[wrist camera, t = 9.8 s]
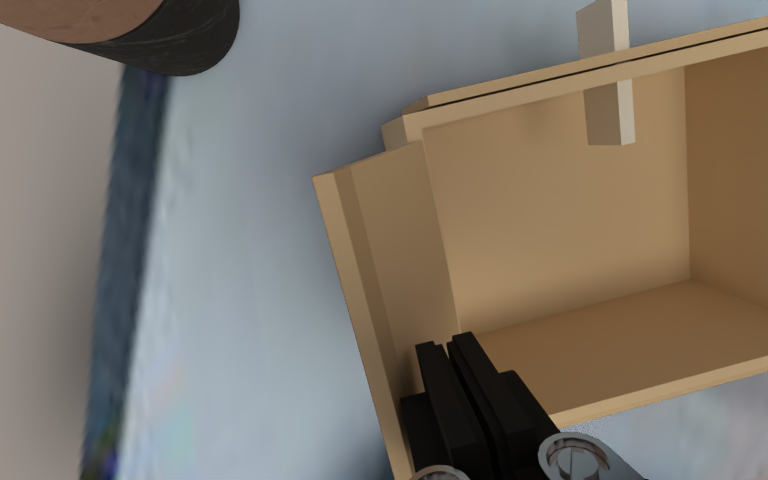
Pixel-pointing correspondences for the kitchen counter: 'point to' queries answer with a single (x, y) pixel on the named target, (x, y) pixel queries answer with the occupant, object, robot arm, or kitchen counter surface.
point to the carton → (609, 214)
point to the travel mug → (134, 29)
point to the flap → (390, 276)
